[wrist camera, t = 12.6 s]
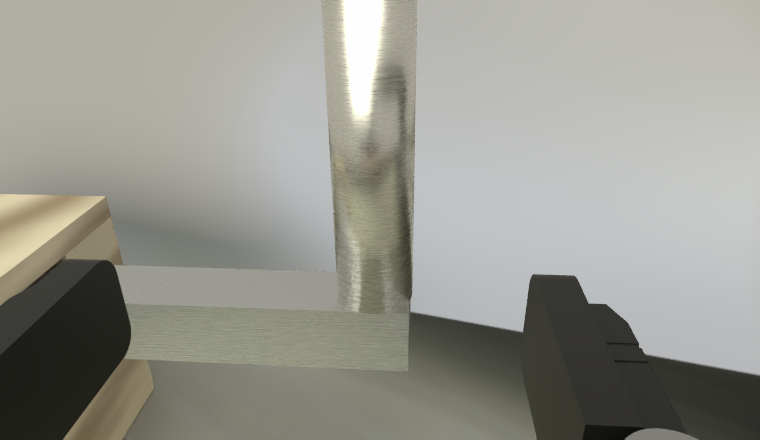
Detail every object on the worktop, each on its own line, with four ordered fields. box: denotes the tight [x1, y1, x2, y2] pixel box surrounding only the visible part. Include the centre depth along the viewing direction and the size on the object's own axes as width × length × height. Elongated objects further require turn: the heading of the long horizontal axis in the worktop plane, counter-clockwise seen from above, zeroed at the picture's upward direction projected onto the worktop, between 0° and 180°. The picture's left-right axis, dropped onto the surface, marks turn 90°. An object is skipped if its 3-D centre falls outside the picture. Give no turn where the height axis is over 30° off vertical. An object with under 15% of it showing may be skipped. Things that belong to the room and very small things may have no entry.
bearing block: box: [0, 194, 155, 440], centre depth 27 cm, size 6×12×14 cm, turn 175°
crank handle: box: [23, 0, 417, 371], centre depth 22 cm, size 22×3×15 cm, turn 86°
